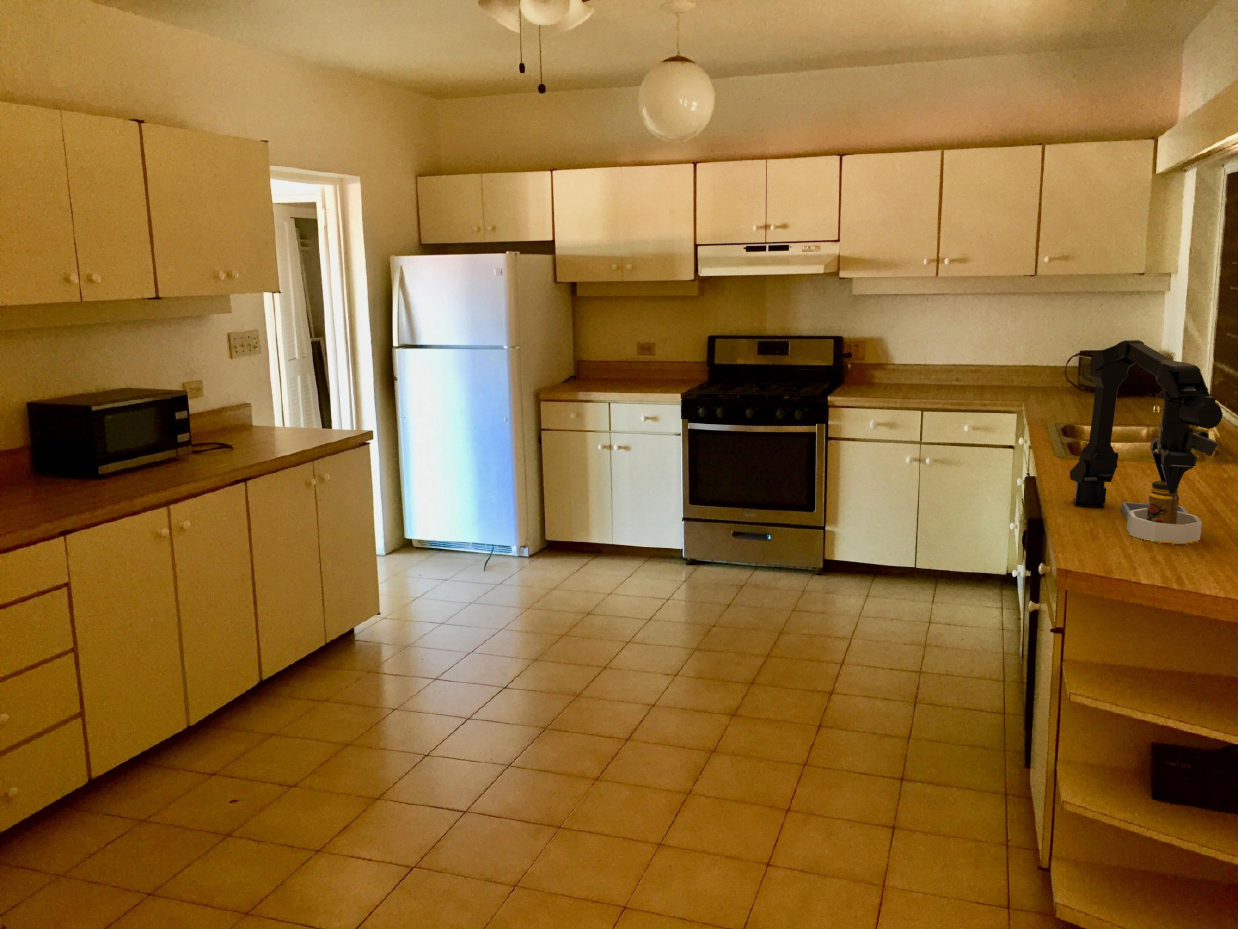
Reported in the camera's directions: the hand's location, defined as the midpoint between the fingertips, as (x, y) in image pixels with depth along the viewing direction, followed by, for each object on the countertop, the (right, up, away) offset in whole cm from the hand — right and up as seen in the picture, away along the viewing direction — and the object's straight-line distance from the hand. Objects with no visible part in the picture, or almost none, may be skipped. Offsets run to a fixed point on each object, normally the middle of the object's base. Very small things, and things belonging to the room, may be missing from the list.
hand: (1168, 488), depth 222 cm
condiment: (0, -11, +3) cm, 11 cm away
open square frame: (+6, -8, +16) cm, 19 cm away
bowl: (0, -11, +3) cm, 11 cm away
